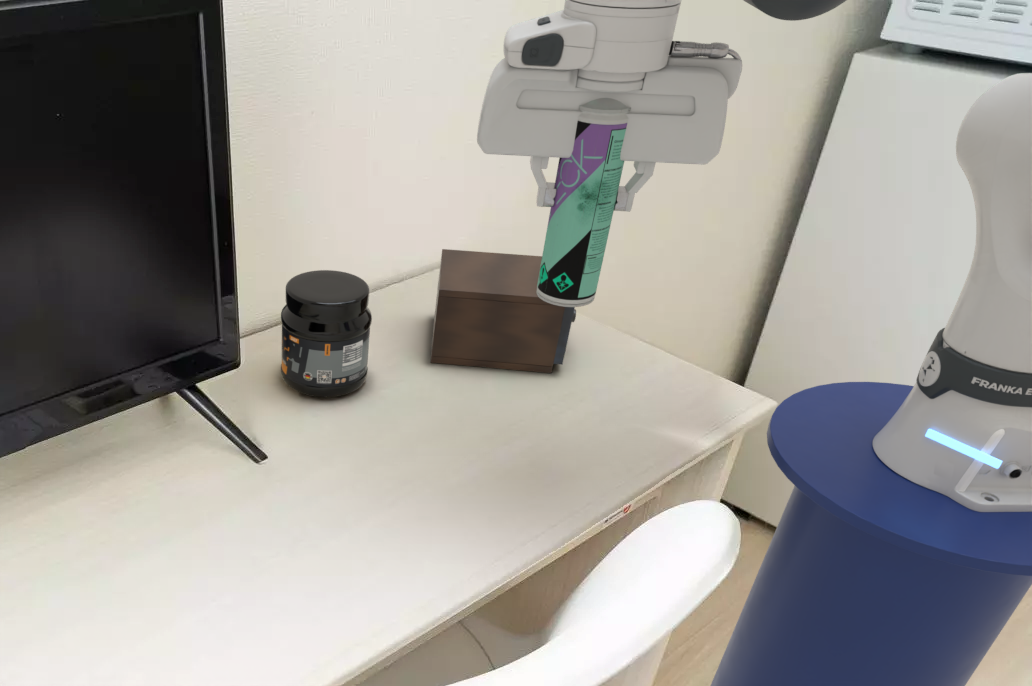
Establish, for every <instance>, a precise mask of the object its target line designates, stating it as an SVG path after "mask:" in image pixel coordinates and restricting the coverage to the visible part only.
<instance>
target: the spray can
mask: <svg viewBox="0 0 1032 686" xmlns="http://www.w3.org/2000/svg"><path fill="white" fill-rule="evenodd" d="M579 109H580V111H582V112H583V113H582V114H581V115H579V116H578V122H577V128H576V135H575V141H574V147H573V152H572V154H571V156H570V157H569V158H558V164H557V171H556V175H555V182H554V183H555V187H556V188H557V191H556V197H555V198H554V201H555V203H554V207H550V210H549V215H548V222H547V227H546V232H545V238H544V245H543V250H542V255H541V256H542V261H541V266H540V272H539V278H538V283H537V291H536V293H537V295H538V297H539V298H540V299H542V300H543V301H545V302H547V303H550V304H553V305H557V306H563V307H575V308H579V307H584V306H588V305H590V304H592V303H593V302H594V301H595V297H596V295H597V289H598V286H599V285H598V284H599V282H600V281H599V279H600V275H601V271H602V267H603V261H604V257H605V252H606V248H607V243H608V239H609V234H610V229H611V225H612V221H613V215H614V212H615V211H614V206H615V202H616V197H617V192H618V188H619V186H620V183H621V179H622V175H623V169H624V164H625V161H621V159H620V155H621V149H622V145H623V140H624V136H625V132H626V127H627V123H628V119H629V118H628V117H627V116H626V113H628V112H629V111H631V107H630V108H627V107H626V105H624V104H623V103H621V102H620V101H617V100H615V99H611V98H600V99H595V100H593V101H590V102H588V103H586V104H584V105H583V106H581V105H579Z"/></svg>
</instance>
